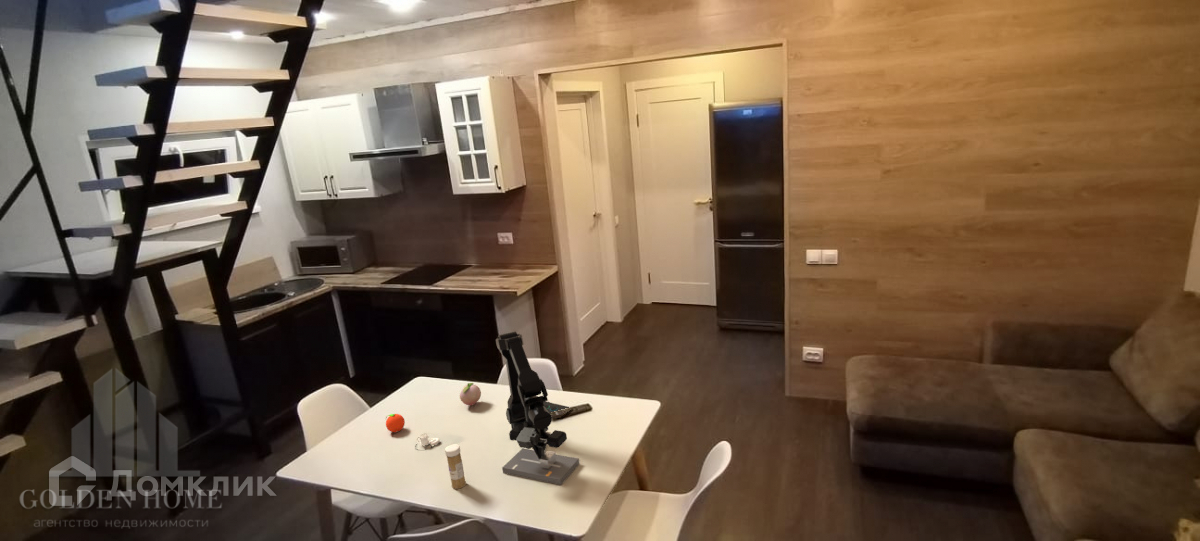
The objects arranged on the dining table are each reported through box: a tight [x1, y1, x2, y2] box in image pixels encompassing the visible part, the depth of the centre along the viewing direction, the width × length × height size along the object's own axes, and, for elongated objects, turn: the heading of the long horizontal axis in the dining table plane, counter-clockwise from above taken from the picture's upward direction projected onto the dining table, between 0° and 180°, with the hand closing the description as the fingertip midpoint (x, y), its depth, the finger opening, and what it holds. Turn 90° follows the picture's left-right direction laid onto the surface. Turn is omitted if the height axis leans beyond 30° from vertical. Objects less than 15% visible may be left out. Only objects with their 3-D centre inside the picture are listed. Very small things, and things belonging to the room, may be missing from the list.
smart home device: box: [543, 401, 570, 413], centre depth 228 cm, size 8×2×20 cm
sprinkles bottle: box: [444, 443, 467, 490], centre depth 183 cm, size 5×5×14 cm
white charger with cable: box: [416, 433, 441, 447], centre depth 211 cm, size 9×8×4 cm
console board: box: [501, 447, 580, 486], centre depth 188 cm, size 22×12×2 cm, turn 63°
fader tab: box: [540, 450, 557, 469], centre depth 186 cm, size 3×5×3 cm, turn 153°
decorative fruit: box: [459, 382, 482, 406], centre depth 238 cm, size 9×8×10 cm
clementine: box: [385, 413, 406, 433], centre depth 224 cm, size 8×7×7 cm
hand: (541, 459), depth 187 cm, fingers closed
